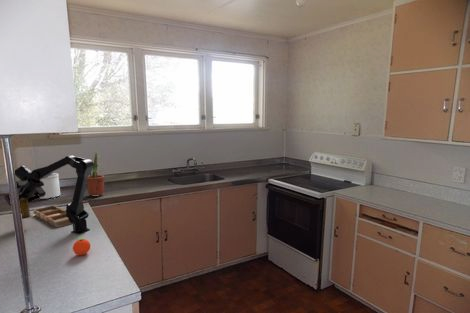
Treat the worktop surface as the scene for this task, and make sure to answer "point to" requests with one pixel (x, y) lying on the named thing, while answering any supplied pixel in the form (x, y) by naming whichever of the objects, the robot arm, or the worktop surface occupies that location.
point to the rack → (53, 215)
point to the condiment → (25, 209)
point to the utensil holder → (51, 186)
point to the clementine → (81, 246)
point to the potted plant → (95, 180)
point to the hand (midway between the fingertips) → (20, 204)
